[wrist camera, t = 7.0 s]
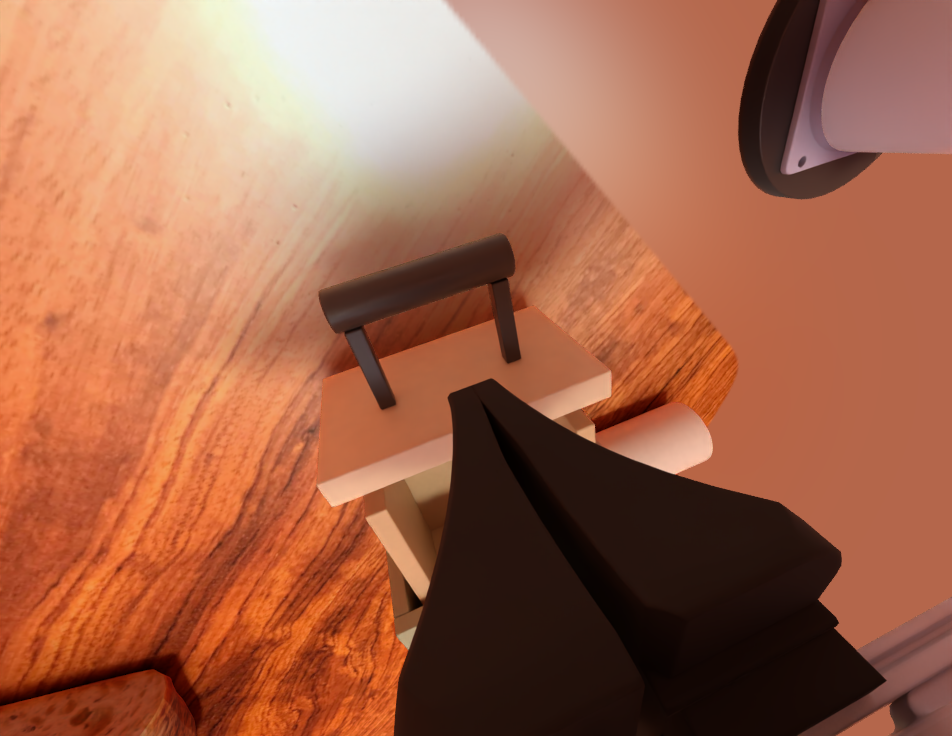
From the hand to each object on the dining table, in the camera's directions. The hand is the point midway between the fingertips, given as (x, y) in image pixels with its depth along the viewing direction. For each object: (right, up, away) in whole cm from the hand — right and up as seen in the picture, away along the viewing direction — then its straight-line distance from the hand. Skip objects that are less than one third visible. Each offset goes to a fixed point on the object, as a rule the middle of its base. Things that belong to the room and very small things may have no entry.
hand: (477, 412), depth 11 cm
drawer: (-1, -1, +9) cm, 9 cm away
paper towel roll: (+10, -3, +16) cm, 19 cm away
